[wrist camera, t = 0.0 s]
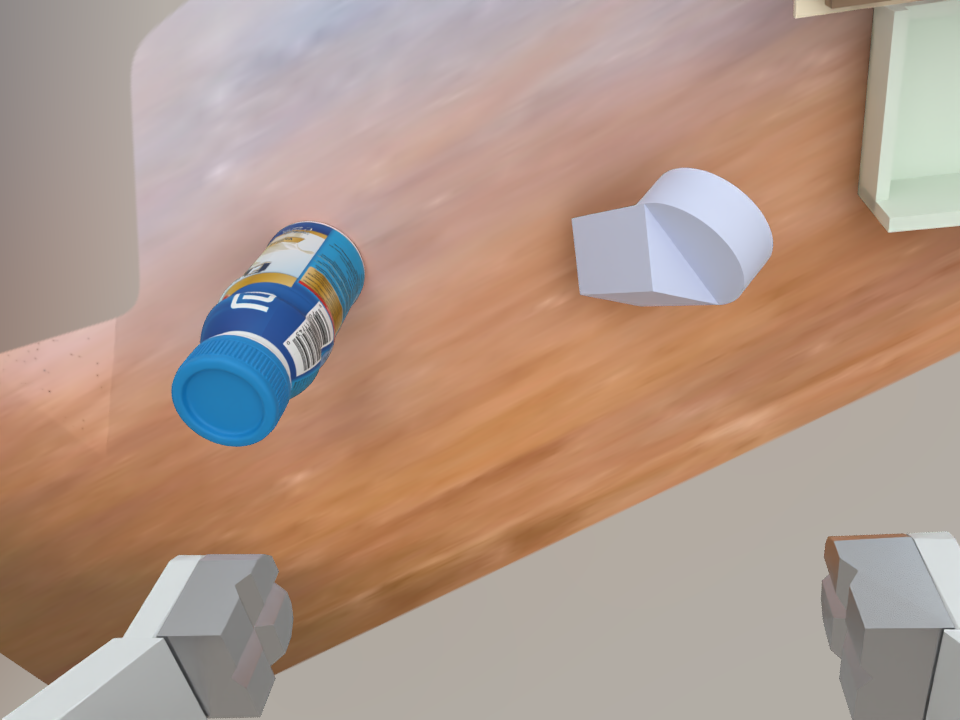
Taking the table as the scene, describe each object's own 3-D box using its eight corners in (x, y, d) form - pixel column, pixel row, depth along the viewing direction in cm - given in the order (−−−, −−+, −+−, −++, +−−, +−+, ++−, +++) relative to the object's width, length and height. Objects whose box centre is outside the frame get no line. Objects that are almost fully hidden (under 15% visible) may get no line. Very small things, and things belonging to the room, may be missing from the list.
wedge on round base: (665, 276, 63) (797, 266, 51) (615, 337, 61) (740, 342, 49) (598, 188, 59) (723, 156, 48) (543, 249, 58) (659, 232, 46)
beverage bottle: (346, 326, 68) (265, 480, 51) (254, 281, 67) (140, 423, 50) (384, 247, 64) (310, 386, 47) (287, 197, 62) (174, 322, 46)
